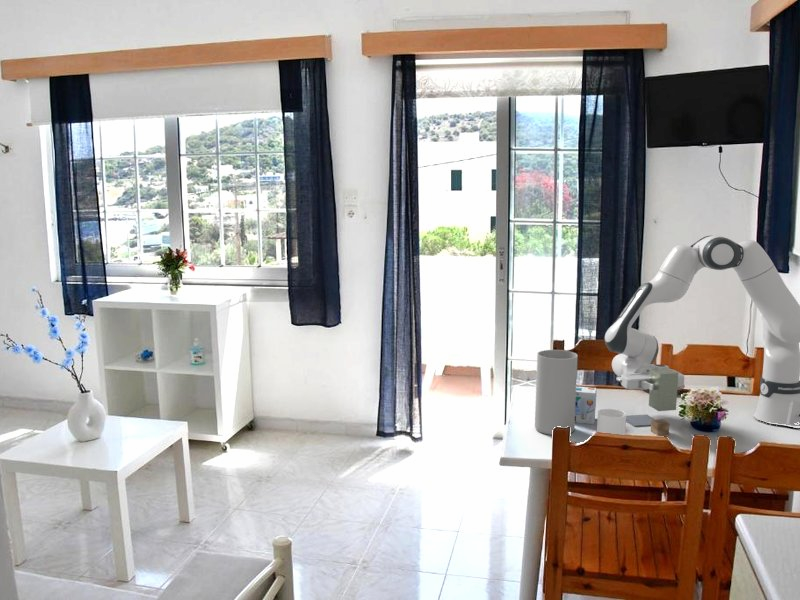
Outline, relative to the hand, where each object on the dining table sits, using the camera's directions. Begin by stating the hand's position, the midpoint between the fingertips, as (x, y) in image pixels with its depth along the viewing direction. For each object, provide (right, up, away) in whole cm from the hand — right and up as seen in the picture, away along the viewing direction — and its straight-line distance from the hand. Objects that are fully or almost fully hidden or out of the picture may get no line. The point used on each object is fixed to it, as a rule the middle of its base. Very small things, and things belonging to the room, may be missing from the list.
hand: (664, 387), depth 233 cm
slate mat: (-3, -13, +15) cm, 20 cm away
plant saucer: (+17, -8, +52) cm, 55 cm away
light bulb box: (-23, -13, +16) cm, 31 cm away
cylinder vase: (-34, -15, +6) cm, 37 cm away
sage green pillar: (0, -7, +2) cm, 7 cm away
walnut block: (0, -15, +3) cm, 16 cm away
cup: (-19, -17, -5) cm, 26 cm away
